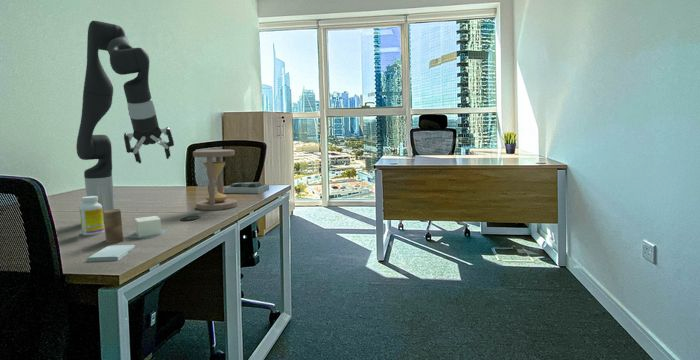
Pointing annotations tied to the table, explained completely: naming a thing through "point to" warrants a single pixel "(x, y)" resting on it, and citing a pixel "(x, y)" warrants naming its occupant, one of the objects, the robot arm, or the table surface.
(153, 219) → the cream block
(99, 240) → the table surface
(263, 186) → the grey organizer frame
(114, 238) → the walnut pillar
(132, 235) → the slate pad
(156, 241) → the table surface
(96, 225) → the supplement bottle
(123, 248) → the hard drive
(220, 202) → the hourglass
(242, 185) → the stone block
